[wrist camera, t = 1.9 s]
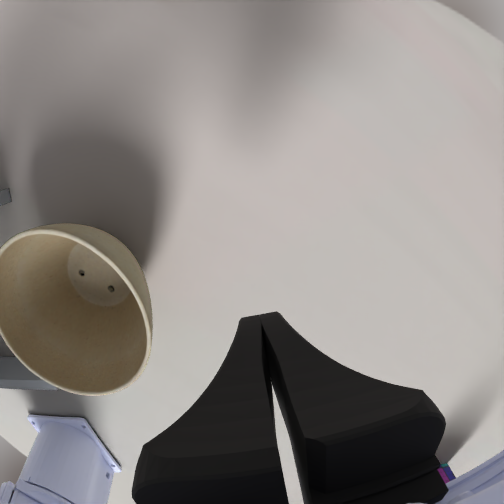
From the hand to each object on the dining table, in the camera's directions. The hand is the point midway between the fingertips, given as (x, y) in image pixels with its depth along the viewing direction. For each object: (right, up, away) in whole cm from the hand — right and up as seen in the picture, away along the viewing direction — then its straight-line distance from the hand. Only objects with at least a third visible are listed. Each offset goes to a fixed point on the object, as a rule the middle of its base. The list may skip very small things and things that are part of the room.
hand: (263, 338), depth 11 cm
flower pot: (-11, +2, +10) cm, 15 cm away
